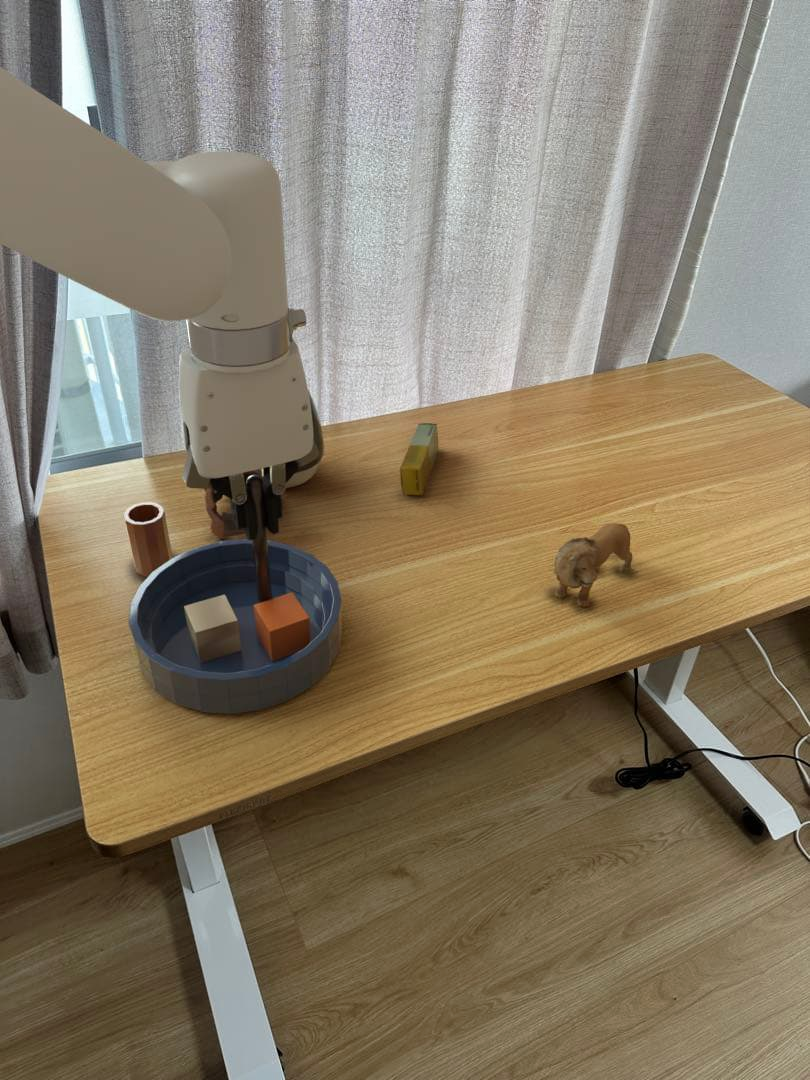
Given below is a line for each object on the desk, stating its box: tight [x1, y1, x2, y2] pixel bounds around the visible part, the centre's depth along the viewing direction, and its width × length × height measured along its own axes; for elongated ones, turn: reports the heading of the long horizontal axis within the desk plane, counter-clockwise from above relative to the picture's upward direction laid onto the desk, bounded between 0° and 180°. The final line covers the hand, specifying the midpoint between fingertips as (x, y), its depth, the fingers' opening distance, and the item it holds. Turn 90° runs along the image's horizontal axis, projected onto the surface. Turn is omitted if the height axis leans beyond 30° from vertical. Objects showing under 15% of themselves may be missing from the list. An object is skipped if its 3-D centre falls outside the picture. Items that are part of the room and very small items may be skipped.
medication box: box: [399, 422, 440, 496], centre depth 103 cm, size 12×3×4 cm, turn 168°
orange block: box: [254, 592, 310, 661], centre depth 77 cm, size 4×4×4 cm
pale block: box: [184, 595, 241, 663], centre depth 77 cm, size 4×4×4 cm
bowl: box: [128, 538, 343, 715], centre depth 78 cm, size 20×20×5 cm
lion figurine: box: [553, 522, 633, 608], centre depth 85 cm, size 15×5×9 cm, turn 144°
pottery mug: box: [203, 469, 262, 540], centre depth 94 cm, size 12×10×8 cm
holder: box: [122, 501, 174, 578], centre depth 86 cm, size 4×4×7 cm
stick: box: [246, 475, 272, 603], centre depth 74 cm, size 1×1×16 cm
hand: (258, 527), depth 72 cm, fingers closed on stick, 1 cm apart
